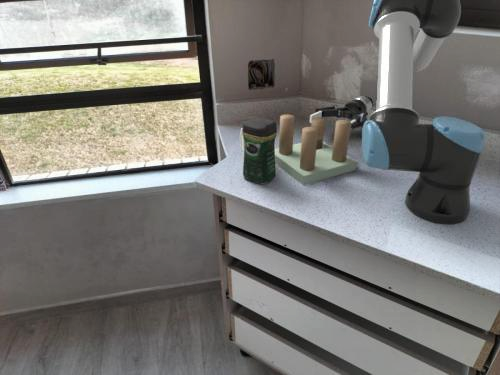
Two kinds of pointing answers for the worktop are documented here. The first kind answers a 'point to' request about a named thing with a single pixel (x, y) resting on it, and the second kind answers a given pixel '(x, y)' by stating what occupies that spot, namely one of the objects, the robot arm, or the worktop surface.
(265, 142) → the coffee jar
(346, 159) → the upturned stool
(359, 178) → the worktop surface
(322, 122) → the walnut leg
